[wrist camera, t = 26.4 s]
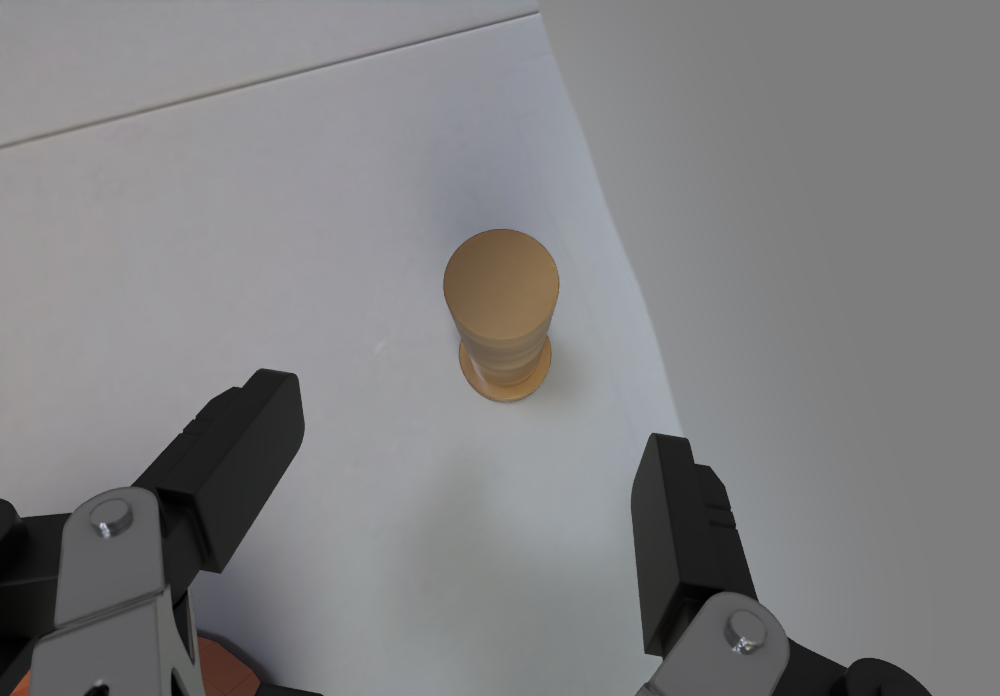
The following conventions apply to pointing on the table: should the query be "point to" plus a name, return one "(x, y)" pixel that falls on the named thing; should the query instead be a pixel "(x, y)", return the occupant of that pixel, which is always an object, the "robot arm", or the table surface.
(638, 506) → the robot arm
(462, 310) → the wooden flanged peg
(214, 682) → the bowl
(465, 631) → the table surface
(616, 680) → the table surface
